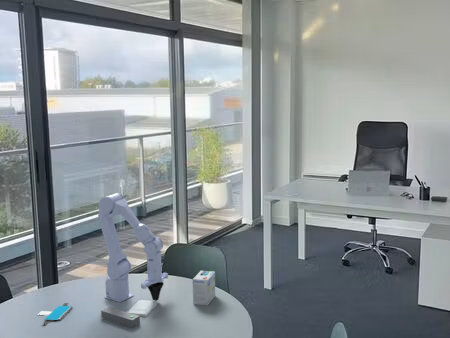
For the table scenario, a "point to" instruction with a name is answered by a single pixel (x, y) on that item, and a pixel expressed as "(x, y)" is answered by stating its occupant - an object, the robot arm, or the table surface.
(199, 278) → the light bulb box
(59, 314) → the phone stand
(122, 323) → the charging dock
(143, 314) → the external hard drive
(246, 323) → the table surface
